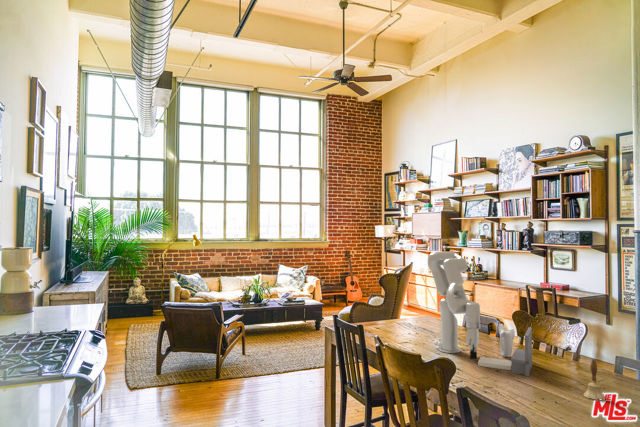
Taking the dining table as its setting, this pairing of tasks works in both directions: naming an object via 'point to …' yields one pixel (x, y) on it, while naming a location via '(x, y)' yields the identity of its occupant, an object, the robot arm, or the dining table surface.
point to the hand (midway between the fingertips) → (473, 358)
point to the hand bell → (594, 384)
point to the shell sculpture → (506, 340)
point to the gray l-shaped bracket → (523, 356)
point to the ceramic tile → (495, 363)
